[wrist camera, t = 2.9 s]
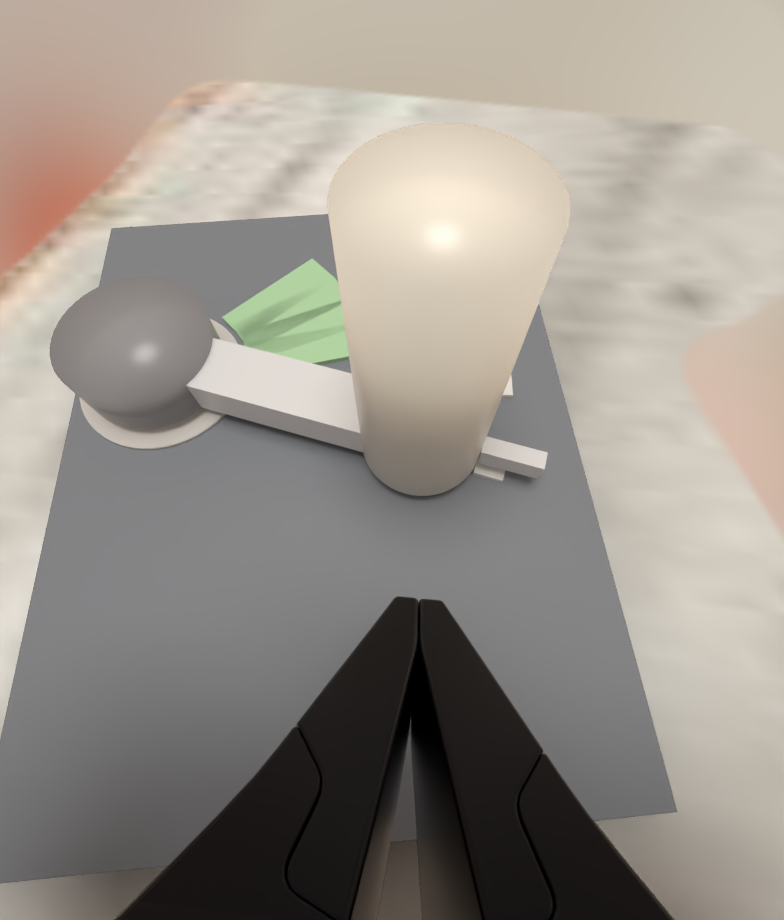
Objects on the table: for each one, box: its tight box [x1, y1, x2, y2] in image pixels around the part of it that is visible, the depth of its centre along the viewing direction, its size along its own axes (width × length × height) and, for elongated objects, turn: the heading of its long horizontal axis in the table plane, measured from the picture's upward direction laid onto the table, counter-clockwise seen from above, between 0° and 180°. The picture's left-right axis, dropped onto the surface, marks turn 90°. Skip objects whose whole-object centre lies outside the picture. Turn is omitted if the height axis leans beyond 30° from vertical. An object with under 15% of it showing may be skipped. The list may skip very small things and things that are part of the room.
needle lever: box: [50, 123, 571, 496], centre depth 12 cm, size 16×5×9 cm, turn 73°
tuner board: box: [0, 214, 677, 883], centre depth 17 cm, size 23×18×1 cm
